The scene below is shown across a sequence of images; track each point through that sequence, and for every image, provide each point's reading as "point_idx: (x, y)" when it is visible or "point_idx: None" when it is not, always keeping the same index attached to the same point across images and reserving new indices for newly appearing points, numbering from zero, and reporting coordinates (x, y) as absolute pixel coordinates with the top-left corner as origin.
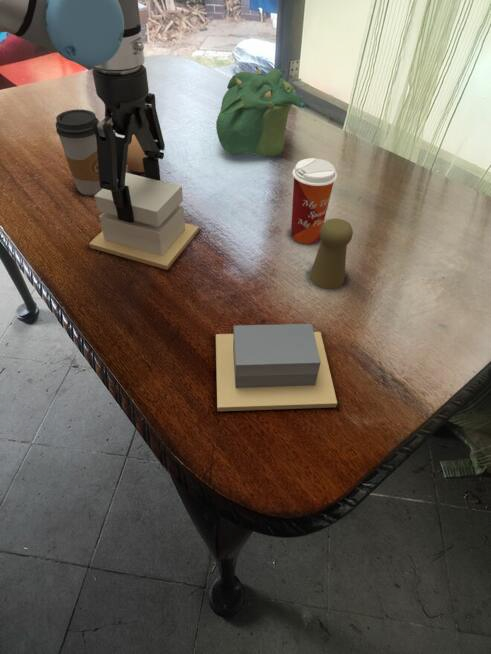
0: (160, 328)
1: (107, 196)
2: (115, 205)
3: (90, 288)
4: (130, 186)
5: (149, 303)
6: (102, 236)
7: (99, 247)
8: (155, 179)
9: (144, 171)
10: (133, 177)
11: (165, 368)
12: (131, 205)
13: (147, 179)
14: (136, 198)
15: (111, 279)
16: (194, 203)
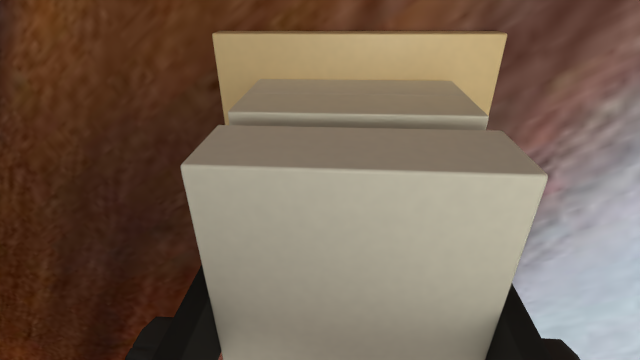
0: (102, 322)
1: (217, 236)
2: (154, 321)
3: (80, 150)
4: (371, 291)
5: (139, 285)
6: (273, 58)
7: (220, 81)
8: (487, 357)
9: (517, 345)
10: (482, 264)
11: (46, 352)
12: (220, 349)
13: (476, 330)
14: (281, 347)
15: (143, 180)
16: (604, 230)
